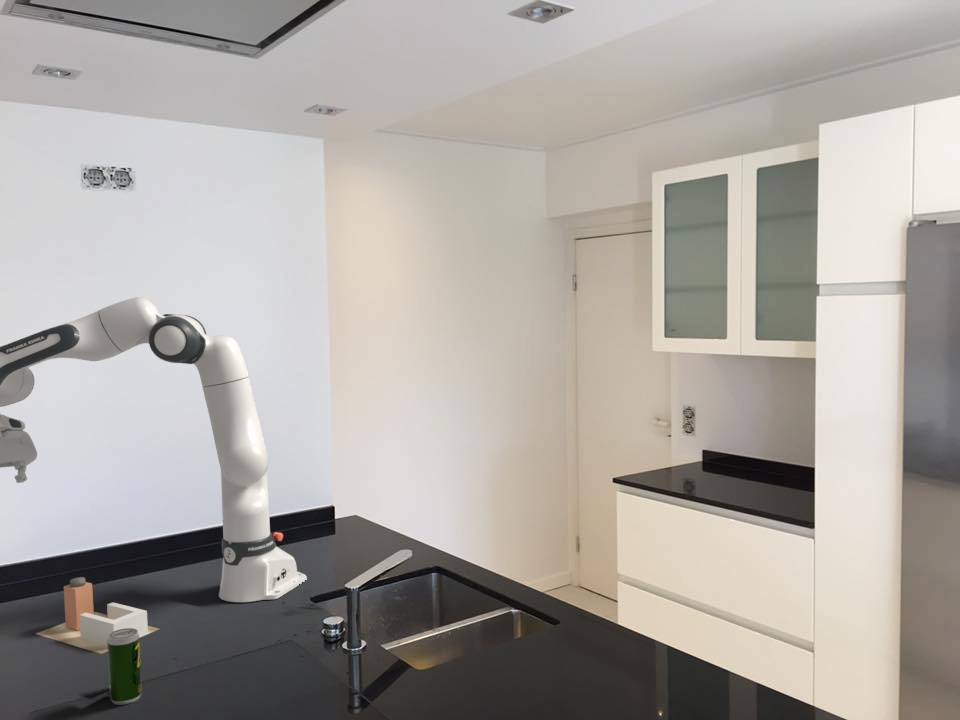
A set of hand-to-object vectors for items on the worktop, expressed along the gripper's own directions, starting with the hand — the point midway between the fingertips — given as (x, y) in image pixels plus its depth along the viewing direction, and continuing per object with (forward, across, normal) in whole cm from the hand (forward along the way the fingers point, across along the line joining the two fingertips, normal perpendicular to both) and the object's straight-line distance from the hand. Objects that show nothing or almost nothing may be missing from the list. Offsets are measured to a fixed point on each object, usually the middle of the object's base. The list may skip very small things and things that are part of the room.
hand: (4, 483), depth 181 cm
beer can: (+56, -18, -26) cm, 64 cm away
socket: (+42, +1, -10) cm, 43 cm away
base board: (+40, +2, -6) cm, 41 cm away
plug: (+36, +3, -2) cm, 36 cm away
